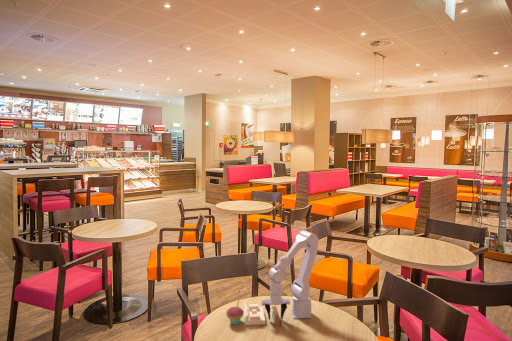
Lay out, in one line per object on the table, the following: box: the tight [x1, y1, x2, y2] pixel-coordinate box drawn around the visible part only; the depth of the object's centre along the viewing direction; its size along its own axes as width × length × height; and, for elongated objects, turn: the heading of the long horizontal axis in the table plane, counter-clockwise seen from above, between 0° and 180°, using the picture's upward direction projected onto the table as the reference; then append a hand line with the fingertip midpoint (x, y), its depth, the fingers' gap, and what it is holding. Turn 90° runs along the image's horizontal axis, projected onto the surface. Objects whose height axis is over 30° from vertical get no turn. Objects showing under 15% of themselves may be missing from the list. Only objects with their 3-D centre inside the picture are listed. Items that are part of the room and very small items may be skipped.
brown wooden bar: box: [271, 305, 280, 328], centre depth 158 cm, size 2×11×5 cm, turn 5°
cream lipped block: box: [243, 302, 266, 326], centre depth 161 cm, size 10×13×5 cm
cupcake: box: [225, 299, 244, 325], centre depth 157 cm, size 9×8×12 cm
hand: (275, 318), depth 158 cm, fingers open, 6 cm apart
